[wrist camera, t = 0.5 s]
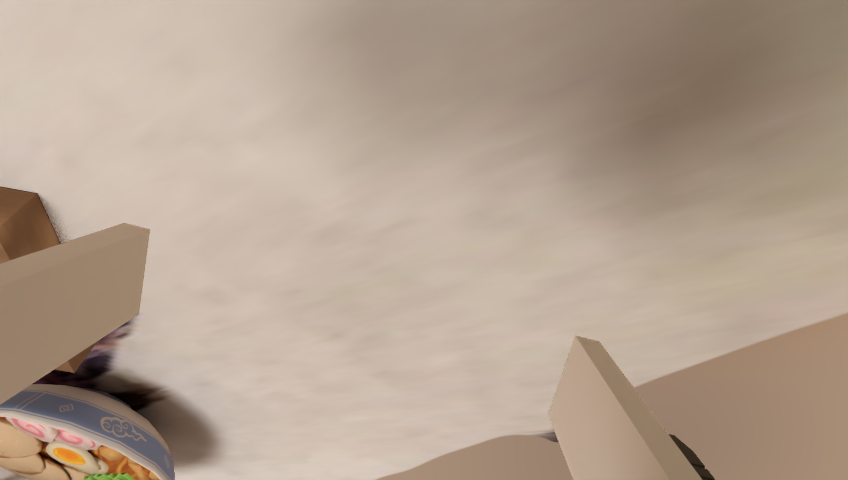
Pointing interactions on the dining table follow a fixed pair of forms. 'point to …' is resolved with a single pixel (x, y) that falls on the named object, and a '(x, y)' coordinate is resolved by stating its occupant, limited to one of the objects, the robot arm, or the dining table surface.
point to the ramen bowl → (78, 437)
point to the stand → (28, 238)
